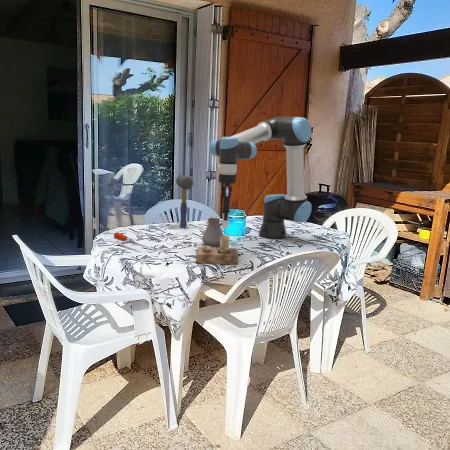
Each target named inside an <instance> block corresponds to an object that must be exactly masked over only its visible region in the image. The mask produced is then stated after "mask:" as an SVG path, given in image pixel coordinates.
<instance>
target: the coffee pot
mask: <svg viewBox="0 0 450 450" xmlns="http://www.w3.org/2000/svg"><path fill="white" fill-rule="evenodd" d="M207 222H208V225H207V226H206V228H205V231H204V233H203V235H202V238H201V240H202V242H203V243H204V244H205V245H207V246H211V247H220V236H222V235H224V233H223V231H222V222H221V219H220V218H215V217H211V218H210V217H209V218H208V219H207ZM220 222H221V223H220Z"/></svg>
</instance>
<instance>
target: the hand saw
mask: <svg viewBox="0 0 450 450" xmlns="http://www.w3.org/2000/svg"><path fill="white" fill-rule="evenodd" d="M113 237H114V239H118V240H120V241H119V242H118V245H119V246H120V247H122V248H125V249H128V250H131V251H134V252H137V253H140V252H142V250H138V249H136V248H133V247H130V246H128V245H125V243H133V244H138V245H140V246H142V247H145V248H148V249H151V250H147V251H145V252H147V253H152V252H151V251H153V252H158V251H157V250H158V249H155V250H153V248H152V247H150V246H148V245H144V244H141V243H139V242H137V241H135V240H134V239H133V238H132V237H129V236H127V235H125V234H123V233H121V232H114V234H113Z"/></svg>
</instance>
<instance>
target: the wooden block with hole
mask: <svg viewBox="0 0 450 450" xmlns="http://www.w3.org/2000/svg"><path fill="white" fill-rule="evenodd" d="M196 247H197V248H196V249H197V250H196V257H195V258H196V260H195V261H196V262H195V264H204V265H205V264H208V265H228V266H229V265H231V266H232V265H236V266H238V264H239V253H238V248H234V247H233V248H232V247H229V253H220V247H212V246H208V245H206V244H205V245H202V246H201V247H200V246H196Z"/></svg>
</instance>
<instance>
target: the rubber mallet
mask: <svg viewBox="0 0 450 450" xmlns="http://www.w3.org/2000/svg"><path fill="white" fill-rule="evenodd" d="M175 183H176V185H177V186H178V187H179V188H180V189H181V202H180V208H179V209H180V211H179V212H180V221H179V226H180V228H182V229H185V228H187V225H188V223H187V215H188V206H187V205H188V204H187V190H190V189H192V187H193V186H194V180H193V179H192V178H191V177H190V176H188V175H183V174H180V175H177V177H176V178H175Z"/></svg>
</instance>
